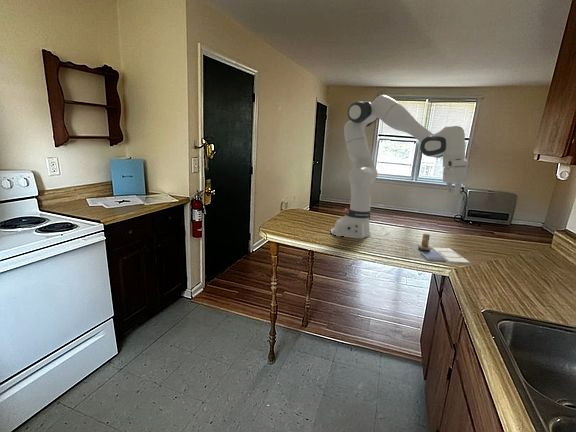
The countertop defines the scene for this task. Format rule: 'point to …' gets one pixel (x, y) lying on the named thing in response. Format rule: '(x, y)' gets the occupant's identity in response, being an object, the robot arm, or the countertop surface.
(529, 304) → the countertop surface
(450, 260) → the stamping board
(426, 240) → the stamp
